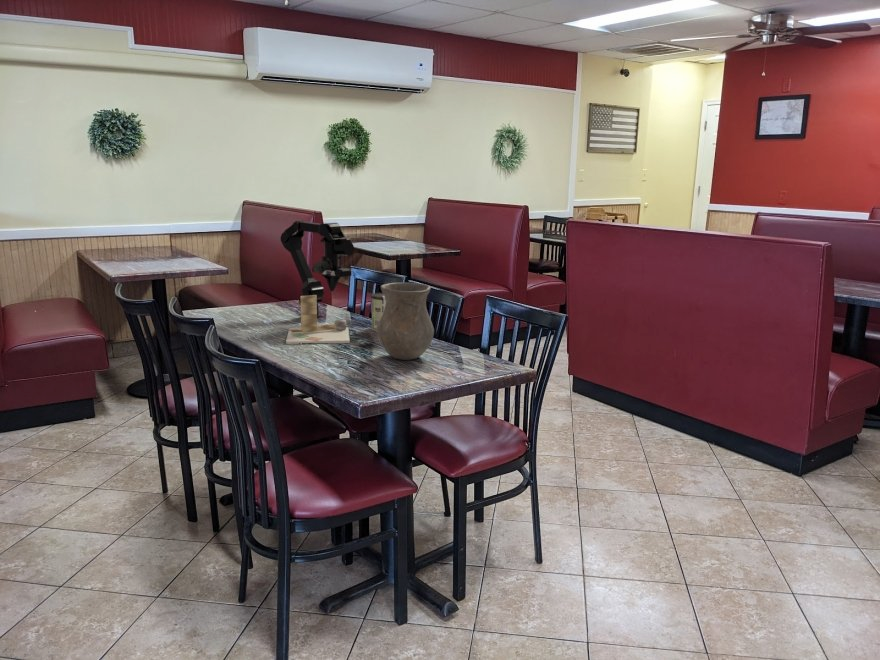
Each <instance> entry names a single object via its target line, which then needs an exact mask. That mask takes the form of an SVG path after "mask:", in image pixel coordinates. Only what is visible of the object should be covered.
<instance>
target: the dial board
mask: <svg viewBox="0 0 880 660" xmlns="http://www.w3.org/2000/svg"><path fill="white" fill-rule="evenodd" d="M294 330H301V327H289V329H288V333H287V337H286V340H285V342H286V343H285V344H286V345H303V344H302V343H328V344H350V343H351V342H350V340H351V339H350V331H349V330H350V329H349V327H347V326H346V329H344V330H338V329H333V330H324V331H315V332H305V333H302V332H293V333H292V332H291V331H294ZM299 343H300V344H299Z"/></svg>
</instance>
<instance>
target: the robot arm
mask: <svg viewBox="0 0 880 660" xmlns="http://www.w3.org/2000/svg"><path fill="white" fill-rule="evenodd" d="M305 232H308V233H315V234H318V235H320V236H321V237H323V238H321V240H320V242H321V243H323V244H324V245H323V246H324V247H323V249H324V255H322V257H321V260H319V261H317V262H315V263H314V264H312V267H311V268H312V271H311V268H310V267H309V264H308V261H307V258H306V257H305V254H304V251H303V249H302V247H303V237H304V236H305ZM280 242H281V245H282V246H283V247H284V249H285V250H286V251H288V252H289V253H290V256H291V258H292V260H293V262H294V265H295V267H296V269H297V272H298V274H299V277H300V279H301V281H302V287H301V292H302V294H301V295H300V296H309V295H317V319H318V318H321V317H322V315H320V314H319V309H320V307H319V303H322V302H323V299H324V298H323V297H324V294H325V292H324V289H325V288H324V287H323V285H322V282H321V280H316V279H315V278H314V276H313V274H312V273H315V274H316V273H317V274H321V275H320V276H322V277H323V278H325V280H326V282H327V285H328V288H329V291H330V292H334V291H335V289H336V287H337V284H338V282H339V281H340V278H344V277H350V276H352V270H351V269H350V268H345V267H342V266H341V265H339V264H340V263H339V260H340V259H341V256H346V257H347V256H348V257H349V256H352V255H353V253H354V251H355V246H354V243H353V242H351V238H346V236H345V234H344V232H343V230H342V228H341V226H340V224H339V223H338V222H325V223H319V222H311V221H305V220H296V221H294V222H293V223H292V224H291V225H290V226H289V227H287V228H286V229H285V230H284V231H283V232H282V233H281V235H280ZM298 302H299V304H300V305H301V298H300V297H298Z"/></svg>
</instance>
